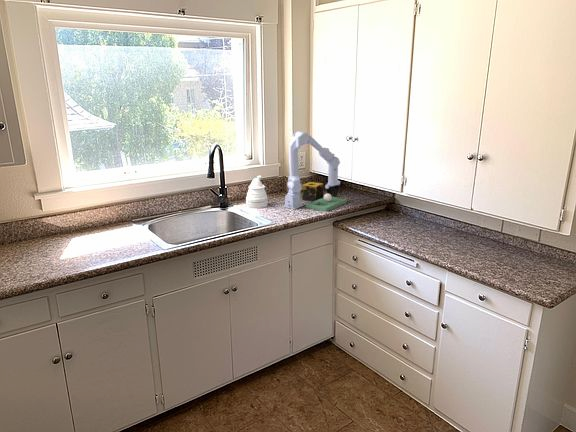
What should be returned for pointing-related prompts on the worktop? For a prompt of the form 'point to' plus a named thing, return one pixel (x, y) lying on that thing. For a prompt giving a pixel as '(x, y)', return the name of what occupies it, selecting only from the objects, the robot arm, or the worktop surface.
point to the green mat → (326, 204)
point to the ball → (327, 197)
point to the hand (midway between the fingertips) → (332, 197)
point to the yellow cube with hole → (312, 191)
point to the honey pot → (256, 195)
